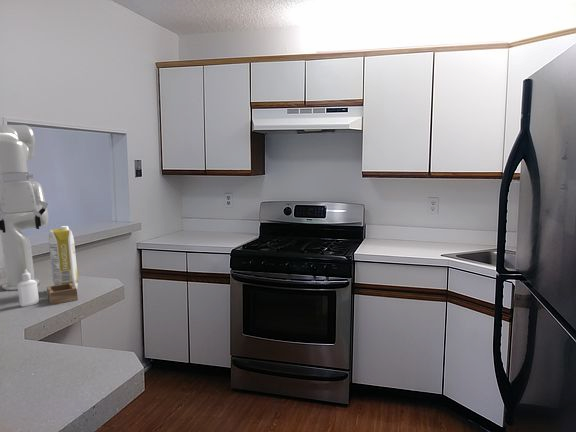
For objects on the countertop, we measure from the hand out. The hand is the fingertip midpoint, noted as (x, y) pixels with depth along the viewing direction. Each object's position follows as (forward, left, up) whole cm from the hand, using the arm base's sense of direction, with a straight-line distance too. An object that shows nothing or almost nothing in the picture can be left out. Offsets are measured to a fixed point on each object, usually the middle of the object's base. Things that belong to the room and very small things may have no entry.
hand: (21, 230), depth 152 cm
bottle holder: (+1, +10, -25) cm, 27 cm away
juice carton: (-10, +13, -26) cm, 30 cm away
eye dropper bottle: (0, 0, -26) cm, 26 cm away
